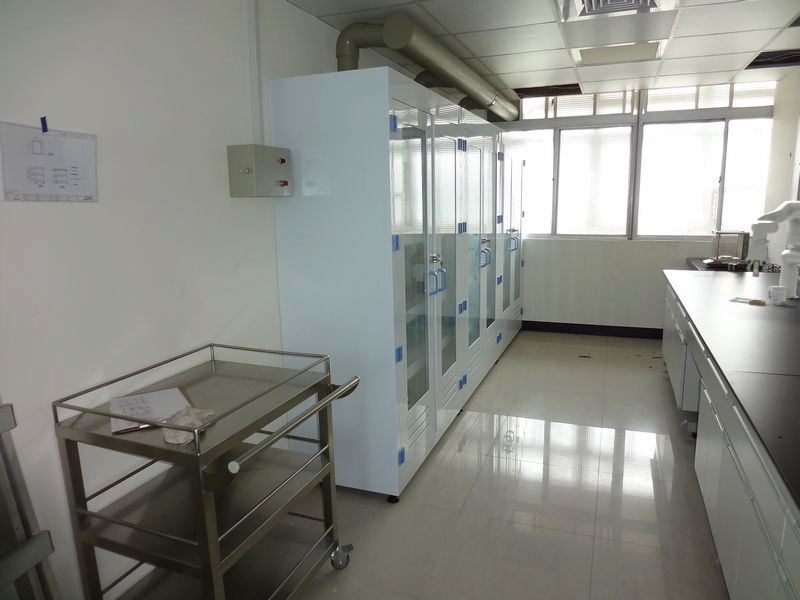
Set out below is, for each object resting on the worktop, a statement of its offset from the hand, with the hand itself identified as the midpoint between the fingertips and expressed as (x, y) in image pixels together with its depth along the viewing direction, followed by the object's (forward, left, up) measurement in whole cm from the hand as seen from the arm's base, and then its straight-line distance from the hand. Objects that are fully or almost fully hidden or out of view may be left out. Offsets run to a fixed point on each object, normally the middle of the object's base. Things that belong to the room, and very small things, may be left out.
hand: (756, 271), depth 338 cm
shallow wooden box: (+2, +3, -21) cm, 21 cm away
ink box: (-7, +11, -21) cm, 25 cm away
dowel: (0, 0, -3) cm, 3 cm away
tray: (-4, -7, -21) cm, 22 cm away
